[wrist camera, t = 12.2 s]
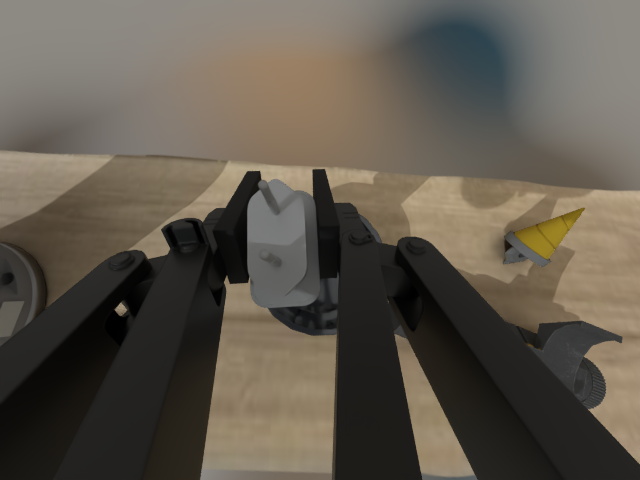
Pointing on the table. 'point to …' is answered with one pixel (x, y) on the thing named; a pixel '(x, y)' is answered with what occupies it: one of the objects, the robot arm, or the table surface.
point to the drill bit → (539, 239)
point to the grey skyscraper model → (282, 246)
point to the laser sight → (563, 354)
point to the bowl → (318, 305)
